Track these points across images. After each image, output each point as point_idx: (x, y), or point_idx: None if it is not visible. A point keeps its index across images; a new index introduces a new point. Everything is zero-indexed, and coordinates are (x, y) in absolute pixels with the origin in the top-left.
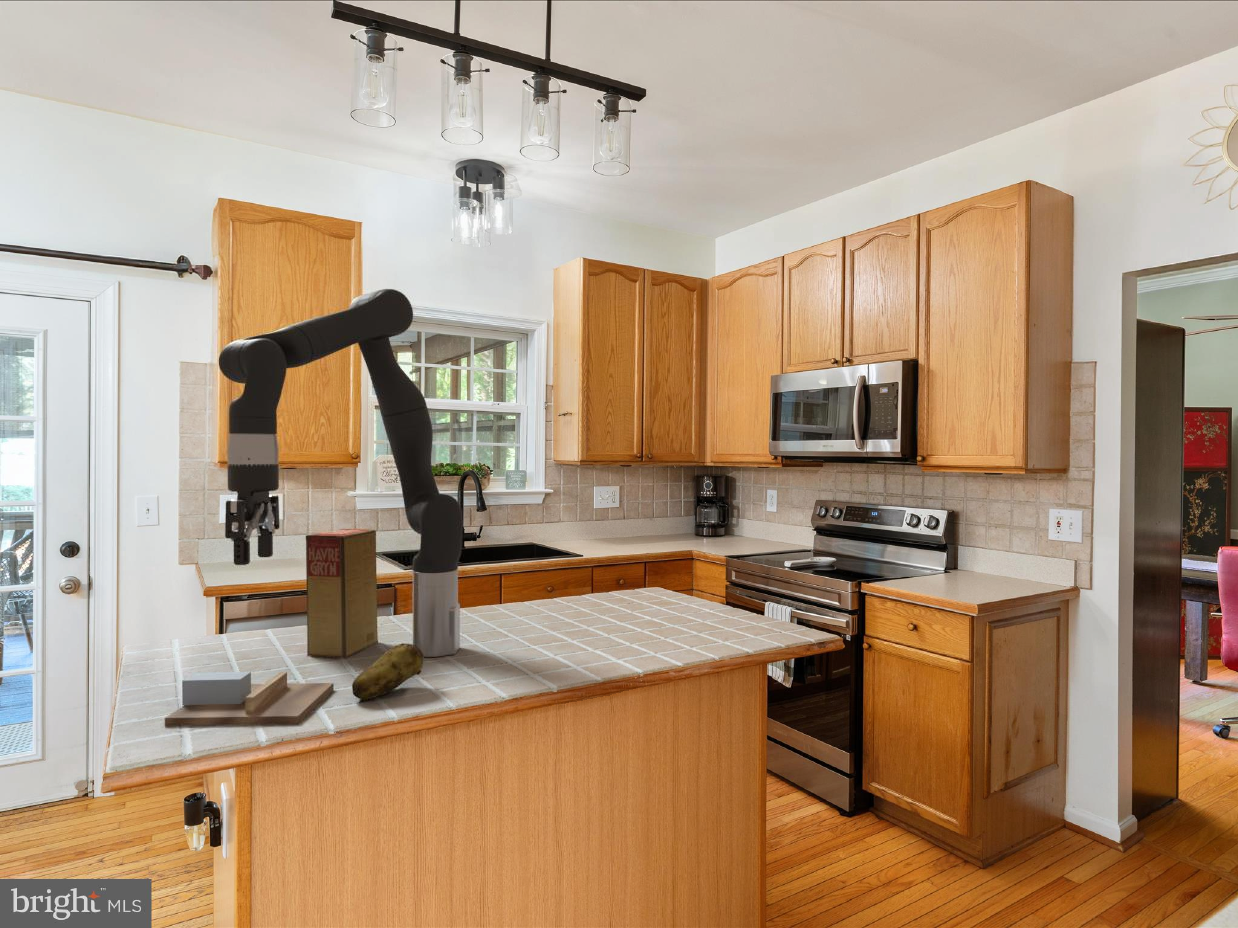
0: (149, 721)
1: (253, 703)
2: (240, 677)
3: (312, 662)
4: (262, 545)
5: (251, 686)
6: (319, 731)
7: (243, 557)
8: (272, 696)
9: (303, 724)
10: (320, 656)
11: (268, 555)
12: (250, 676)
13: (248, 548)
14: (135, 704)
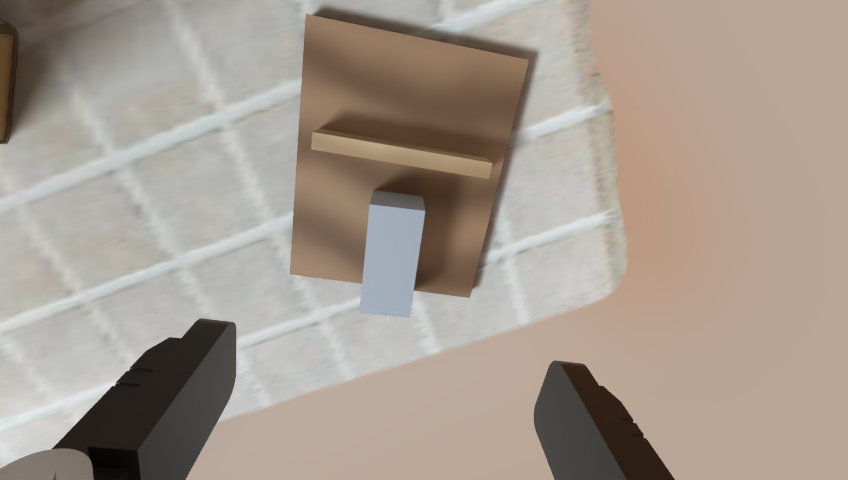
0: (440, 319)
1: (488, 160)
2: (412, 214)
3: (70, 116)
4: (196, 428)
5: (312, 205)
6: (582, 4)
7: (622, 406)
8: (398, 142)
9: (531, 47)
10: (11, 104)
11: (230, 336)
12: (372, 201)
13: (627, 437)
14: (350, 367)
